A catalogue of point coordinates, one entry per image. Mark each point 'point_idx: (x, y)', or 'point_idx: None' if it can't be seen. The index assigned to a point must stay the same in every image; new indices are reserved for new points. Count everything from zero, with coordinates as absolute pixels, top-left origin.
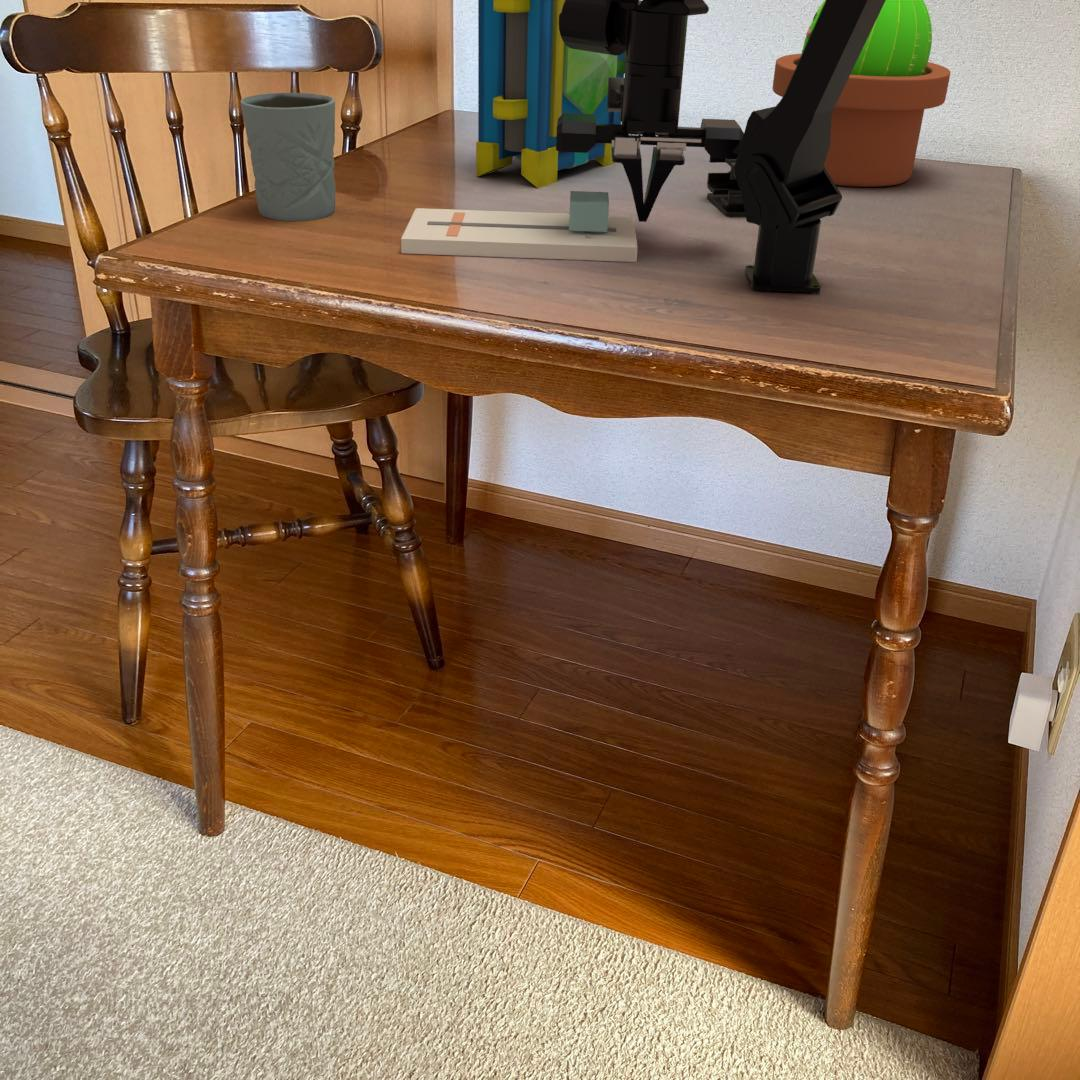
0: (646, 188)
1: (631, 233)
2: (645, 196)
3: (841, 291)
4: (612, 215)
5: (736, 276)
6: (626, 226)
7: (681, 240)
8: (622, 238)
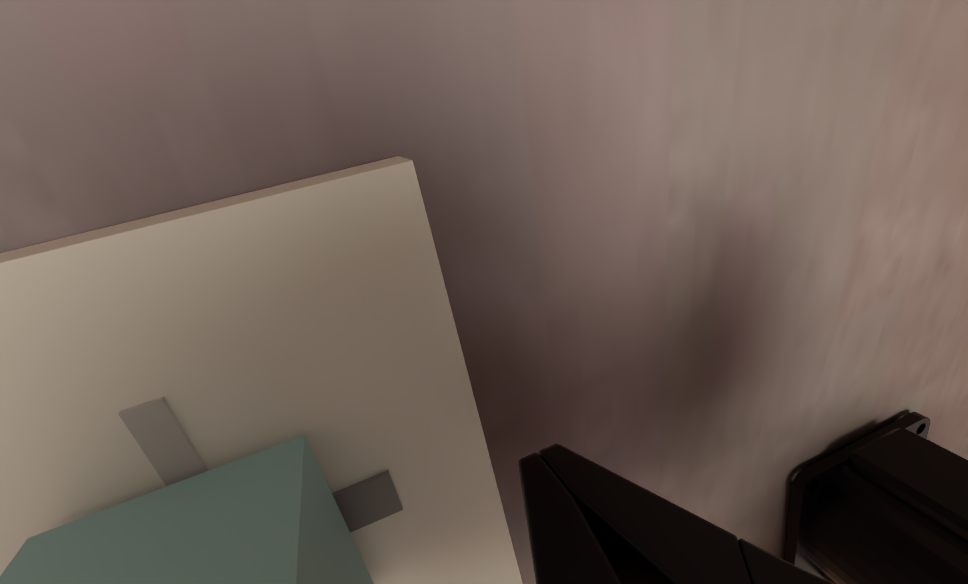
0: (658, 580)
1: (479, 491)
2: (624, 575)
3: None
4: (265, 199)
5: (764, 512)
6: (429, 399)
7: (643, 246)
8: (455, 571)
